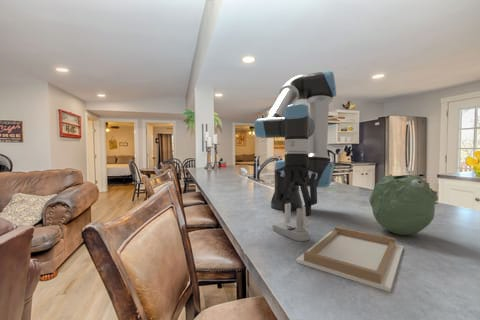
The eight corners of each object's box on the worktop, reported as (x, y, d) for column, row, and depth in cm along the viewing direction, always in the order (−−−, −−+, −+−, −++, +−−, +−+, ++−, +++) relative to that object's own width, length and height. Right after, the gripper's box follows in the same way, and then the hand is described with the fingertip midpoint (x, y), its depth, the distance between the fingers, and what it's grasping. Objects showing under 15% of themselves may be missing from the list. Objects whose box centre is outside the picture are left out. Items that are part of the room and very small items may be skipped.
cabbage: (376, 222, 92) (377, 170, 91) (439, 235, 78) (442, 174, 77) (361, 232, 81) (362, 173, 80) (432, 249, 67) (435, 178, 66)
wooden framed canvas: (330, 233, 80) (330, 225, 80) (403, 249, 67) (403, 239, 67) (296, 262, 60) (296, 251, 60) (390, 292, 47) (390, 278, 47)
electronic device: (280, 201, 88) (312, 209, 74) (281, 228, 88) (312, 240, 75) (269, 203, 85) (299, 211, 72) (269, 230, 85) (299, 243, 72)
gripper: (266, 153, 81) (266, 222, 81) (320, 152, 69) (320, 232, 69) (277, 153, 86) (277, 217, 87) (329, 152, 75) (329, 226, 75)
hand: (296, 224), depth 78 cm, fingers open, 5 cm apart
